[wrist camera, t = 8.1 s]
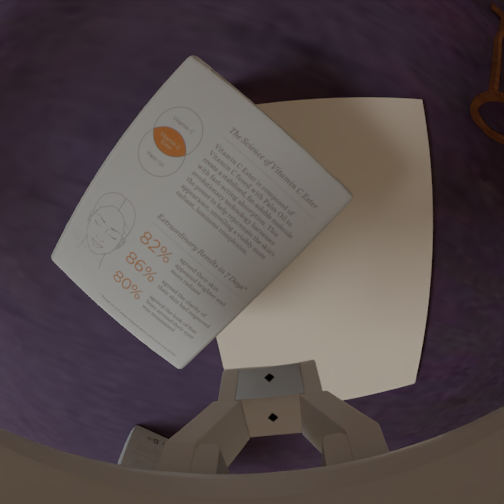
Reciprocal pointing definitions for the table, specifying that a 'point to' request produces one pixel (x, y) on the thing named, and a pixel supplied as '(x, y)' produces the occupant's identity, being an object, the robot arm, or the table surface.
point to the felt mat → (352, 253)
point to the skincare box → (142, 449)
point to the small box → (195, 214)
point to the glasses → (491, 83)
